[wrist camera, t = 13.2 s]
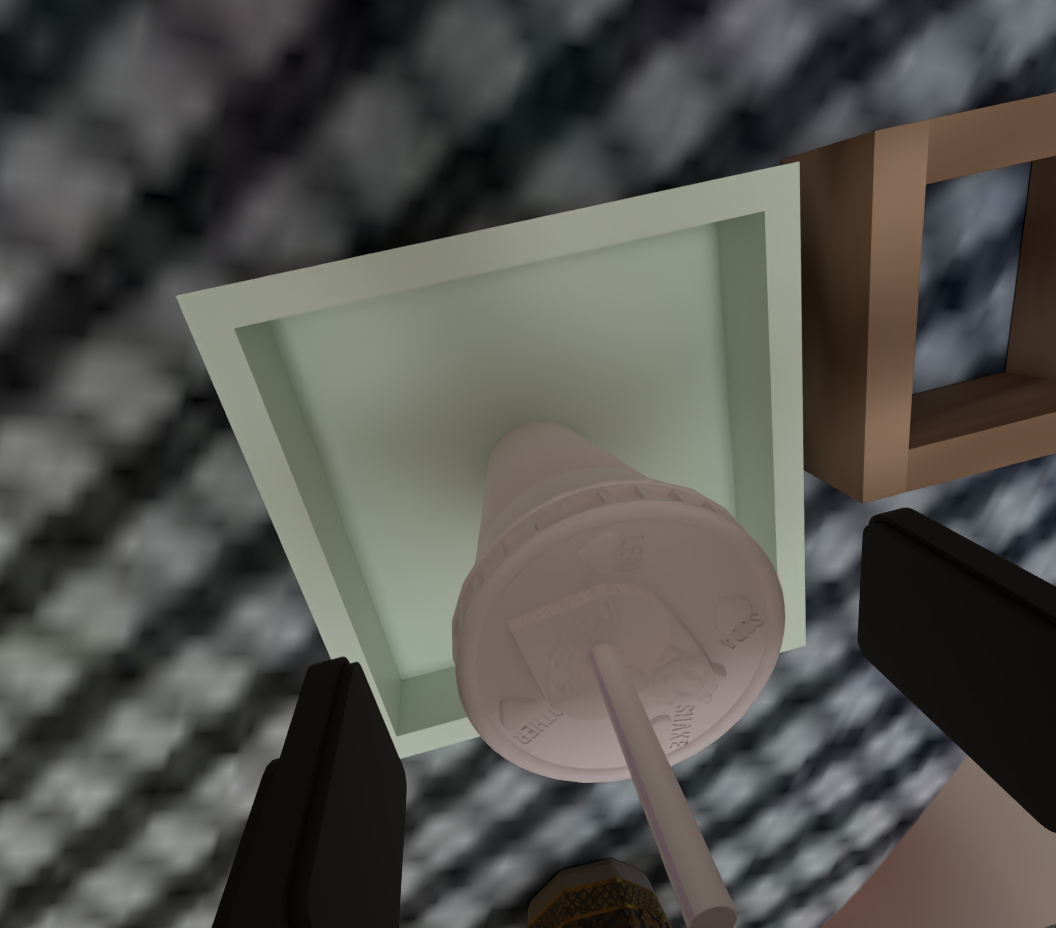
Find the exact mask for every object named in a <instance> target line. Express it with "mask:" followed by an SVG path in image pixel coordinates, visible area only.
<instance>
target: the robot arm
mask: <svg viewBox="0 0 1056 928" xmlns="http://www.w3.org/2000/svg"><path fill="white" fill-rule="evenodd" d="M858 644H859V647H860V649H861V652H862V653H863V655H864V656H865V657H866V659H867V660H868V661H869V662H870V663H871V664H872V665H873V666H875V667H876V668H877V669H878V670H879V671H880V672H881V673H882V674H883V675H884V676H885V677H886V678H887V679H888V680H889V681H890V682H891V683H892V684H893V685H895V686H896V687H897V688H898V689H899V690H900V691H901V692H902V693H903V694H904V695H905V696H906V697H907V698H908V699H909V700H910V701H911V702H912V703H913V704H915V705H916V706H917V707H918V708H919V709H920V710H921V711H922V712H923V713H924V714H925V715H926V716H927V717H928V718H929V719H930V720H931V721H932V722H933V723H935V724H936V725H937V726H938V727H939V728H940V729H941V730H942V731H943V732H944V733H945V734H946V735H947V736H948V737H949V738H950V739H951V740H952V741H953V742H955V743H956V744H957V745H958V746H959V747H960V748H961V749H962V750H963V751H964V752H965V753H966V754H967V755H968V756H969V757H970V758H971V759H973V761H975V762H976V763H977V764H978V765H979V766H980V767H981V768H982V769H983V770H984V771H985V772H986V773H987V774H988V775H989V776H990V777H992V779H994V780H995V781H996V782H997V783H998V784H999V785H1000V786H1001V787H1002V788H1003V789H1004V790H1005V791H1006V792H1007V793H1008V794H1009V795H1010V796H1011V797H1012V798H1014V799H1015V800H1016V801H1017V802H1018V803H1019V804H1020V805H1021V806H1022V807H1023V808H1024V809H1025V810H1026V811H1027V812H1028V813H1029V814H1030V815H1031V816H1033V817H1034V818H1035V819H1036V820H1037V821H1038V822H1039V823H1040V824H1041V825H1043V826H1044V827H1045V828H1047V829H1048V830H1050V831H1052V832H1055V833H1056V587H1055V586H1054V585H1052V584H1050V583H1048V582H1046V581H1044V580H1043V579H1041V578H1039V577H1037V576H1035V575H1033V574H1031V573H1030V572H1028V571H1026V570H1024V569H1022V568H1020V567H1019V566H1017V565H1015V564H1013V563H1011V562H1009V561H1008V560H1006V559H1004V558H1002V557H1000V556H998V555H996V554H995V553H993V552H991V551H989V550H987V549H985V548H984V547H982V546H980V545H978V544H976V543H974V542H972V541H971V540H969V539H967V538H965V537H963V536H961V535H960V534H958V533H956V532H954V531H952V530H950V529H948V528H947V527H945V526H943V525H941V524H939V523H937V522H936V521H934V520H932V519H930V518H928V517H926V516H924V515H923V514H921V513H919V512H917V511H915V510H913V509H910V508H900V509H896V510H893V511H889V512H885V513H881V514H878V515H875V516H873V517H872V518H871V519H870V521H869V525H868V526H866V527H865V529H864V531H863V541H862V561H861V580H860V600H859V619H858ZM406 793H407V785H406V776H405V771H404V768H403V765H402V763H401V760H400V758H399V755H398V753H397V751H396V748H395V746H394V743H393V741H392V739H391V736H390V734H389V731H388V729H387V726H386V724H385V722H384V719H383V717H382V714H381V712H380V710H379V707H378V705H377V702H376V700H375V698H374V695H373V693H372V690H371V688H370V686H369V683H368V681H367V678H366V676H365V674H364V671H363V669H362V667H361V665H360V663H359V662H354V663H350V662H349V660H348V659H347V658H346V657H343V656H342V657H339V658H335V659H331V660H327V661H323V662H320V663H316V664H312V665H311V666H309V668H308V670H307V673H306V676H305V679H304V682H303V685H302V689H301V692H300V695H299V698H298V701H297V705H296V708H295V711H294V714H293V717H292V721H291V724H290V727H289V730H288V733H287V737H286V740H285V743H284V746H283V749H282V753H281V756H280V758H279V759H275V760H272V761H271V762H270V763H269V764H268V766H267V767H266V769H265V772H264V774H263V776H262V779H261V782H260V785H259V788H258V791H257V794H256V797H255V800H254V803H253V806H252V809H251V812H250V815H249V818H248V821H247V824H246V827H245V830H244V833H243V836H242V839H241V842H240V845H239V848H238V851H237V854H236V857H235V860H234V863H233V866H232V869H231V871H230V874H229V877H228V880H227V883H226V886H225V889H224V892H223V895H222V898H221V901H220V904H219V907H218V910H217V913H216V916H215V919H214V922H213V925H212V928H399V913H400V896H401V879H402V862H403V845H404V827H405V810H406ZM1045 928H1056V924H1055V925H1051V926H1049V927H1045Z"/></svg>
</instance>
